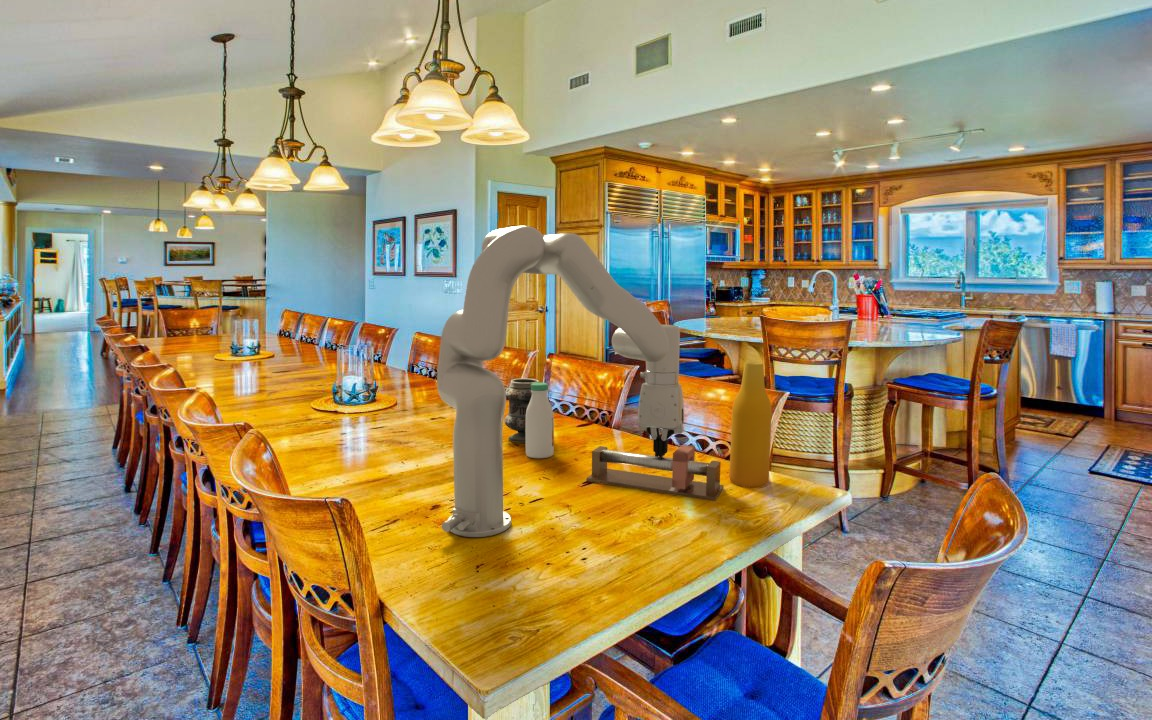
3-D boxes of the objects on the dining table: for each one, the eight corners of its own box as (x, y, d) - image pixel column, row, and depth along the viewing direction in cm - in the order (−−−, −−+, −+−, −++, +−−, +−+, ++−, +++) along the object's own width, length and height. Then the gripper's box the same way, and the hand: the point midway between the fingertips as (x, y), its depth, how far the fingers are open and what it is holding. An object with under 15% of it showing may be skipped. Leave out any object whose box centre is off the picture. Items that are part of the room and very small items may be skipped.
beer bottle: (741, 489, 146) (746, 366, 142) (722, 477, 155) (726, 360, 151) (776, 486, 149) (782, 365, 145) (755, 474, 157) (760, 359, 153)
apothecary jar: (552, 437, 192) (552, 379, 189) (529, 446, 182) (528, 385, 179) (520, 432, 198) (520, 375, 196) (496, 440, 188) (495, 381, 185)
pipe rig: (715, 501, 139) (716, 470, 138) (586, 481, 152) (586, 452, 151) (723, 488, 147) (724, 459, 146) (600, 470, 160) (601, 443, 159)
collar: (685, 489, 142) (686, 454, 141) (672, 487, 143) (672, 453, 142) (693, 478, 149) (694, 446, 148) (681, 477, 150) (682, 444, 149)
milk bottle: (549, 460, 169) (549, 386, 166) (522, 458, 170) (521, 385, 167) (556, 452, 176) (556, 381, 173) (529, 450, 178) (529, 380, 175)
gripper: (626, 378, 145) (624, 455, 147) (689, 383, 138) (686, 464, 141) (637, 373, 152) (635, 447, 154) (698, 378, 145) (695, 455, 148)
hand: (660, 455), depth 148 cm, fingers closed
